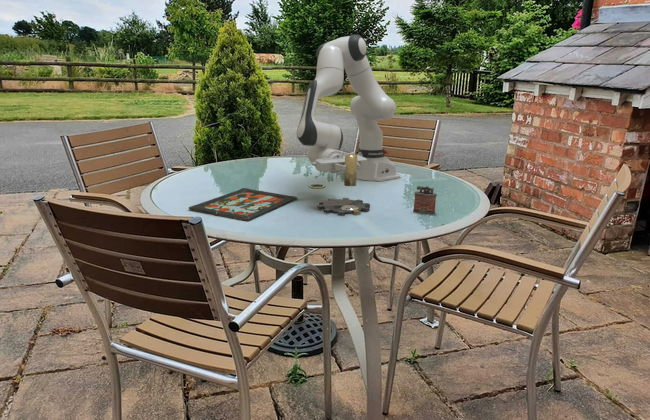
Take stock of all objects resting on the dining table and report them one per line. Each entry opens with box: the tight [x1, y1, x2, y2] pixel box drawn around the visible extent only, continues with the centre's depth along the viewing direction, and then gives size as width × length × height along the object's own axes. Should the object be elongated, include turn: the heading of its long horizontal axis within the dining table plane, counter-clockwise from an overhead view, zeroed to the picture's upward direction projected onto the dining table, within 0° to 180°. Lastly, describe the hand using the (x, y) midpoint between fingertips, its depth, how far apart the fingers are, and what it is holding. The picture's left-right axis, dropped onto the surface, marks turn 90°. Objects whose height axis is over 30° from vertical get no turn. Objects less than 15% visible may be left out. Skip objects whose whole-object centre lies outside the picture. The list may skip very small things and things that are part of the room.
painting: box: [187, 187, 298, 222], centre depth 186 cm, size 28×35×2 cm
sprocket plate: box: [316, 197, 371, 217], centre depth 184 cm, size 20×20×1 cm
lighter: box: [412, 185, 437, 215], centre depth 178 cm, size 8×3×10 cm, turn 71°
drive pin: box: [343, 153, 358, 187], centre depth 176 cm, size 4×4×11 cm
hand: (352, 167), depth 175 cm, fingers closed on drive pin, 4 cm apart
